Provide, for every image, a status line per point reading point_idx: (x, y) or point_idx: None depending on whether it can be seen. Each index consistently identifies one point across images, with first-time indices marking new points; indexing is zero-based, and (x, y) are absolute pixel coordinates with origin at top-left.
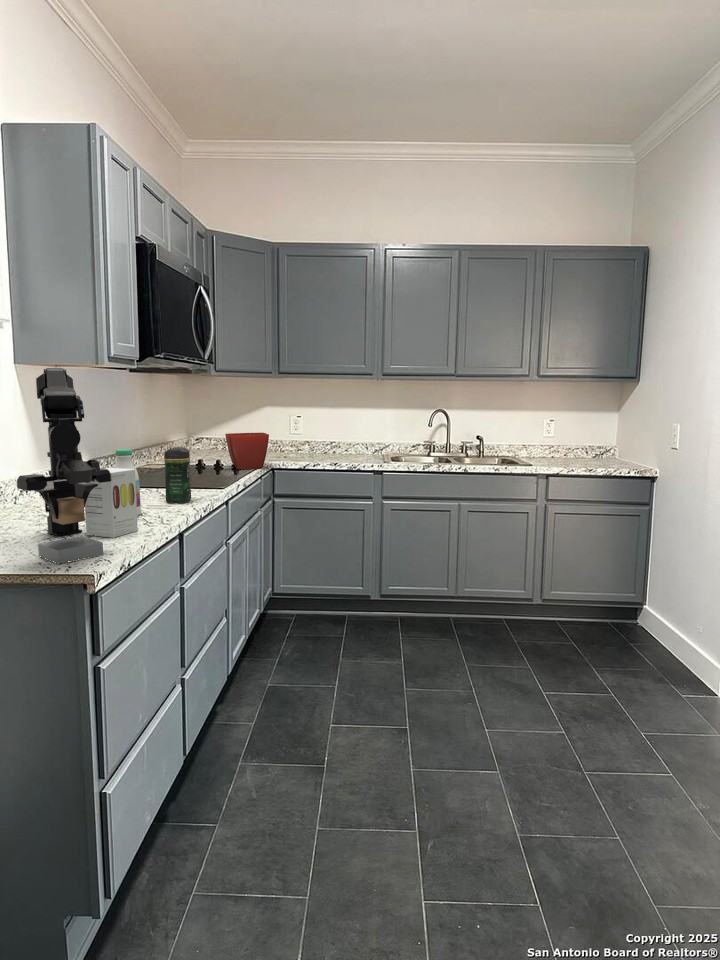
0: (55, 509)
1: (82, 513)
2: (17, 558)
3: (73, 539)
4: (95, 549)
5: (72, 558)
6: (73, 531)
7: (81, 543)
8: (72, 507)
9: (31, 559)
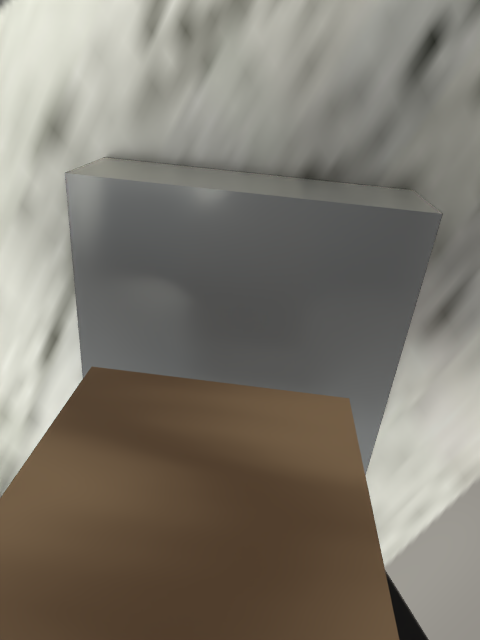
0: (400, 634)
1: (78, 432)
2: (423, 482)
3: None
4: (143, 173)
5: (322, 184)
6: None
7: (195, 277)
8: (194, 543)
9: (405, 419)
